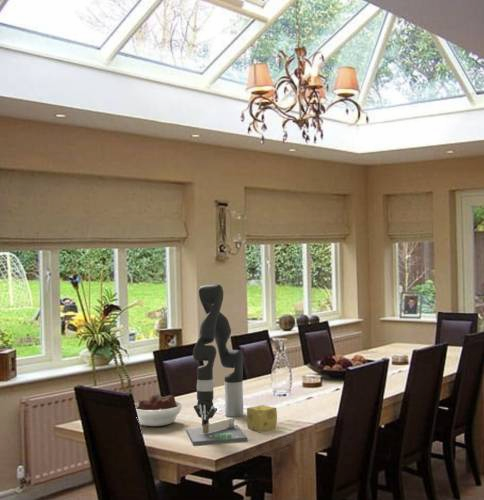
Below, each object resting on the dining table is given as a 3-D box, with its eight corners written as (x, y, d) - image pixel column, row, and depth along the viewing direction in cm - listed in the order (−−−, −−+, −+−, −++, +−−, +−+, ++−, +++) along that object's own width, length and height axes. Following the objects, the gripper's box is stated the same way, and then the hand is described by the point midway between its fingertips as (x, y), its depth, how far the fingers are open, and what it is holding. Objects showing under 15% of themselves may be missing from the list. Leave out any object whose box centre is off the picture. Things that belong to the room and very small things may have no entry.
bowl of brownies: (125, 422, 357) (124, 392, 357) (173, 416, 367) (172, 387, 367) (139, 433, 334) (138, 400, 334) (189, 426, 345) (189, 395, 345)
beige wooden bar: (230, 425, 336) (229, 417, 336) (235, 426, 334) (235, 418, 334) (201, 433, 323) (201, 424, 323) (206, 434, 320) (206, 425, 320)
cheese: (260, 432, 329) (259, 410, 329) (246, 428, 338) (245, 407, 338) (277, 428, 335) (277, 407, 335) (263, 424, 344) (262, 404, 344)
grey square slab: (186, 432, 334) (186, 425, 334) (237, 428, 338) (237, 421, 338) (193, 445, 310) (193, 438, 310) (247, 440, 315) (247, 433, 315)
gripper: (188, 388, 327) (189, 427, 327) (210, 392, 319) (210, 431, 319) (200, 386, 333) (200, 424, 333) (221, 389, 325) (221, 428, 325)
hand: (205, 427), depth 326 cm, fingers closed
